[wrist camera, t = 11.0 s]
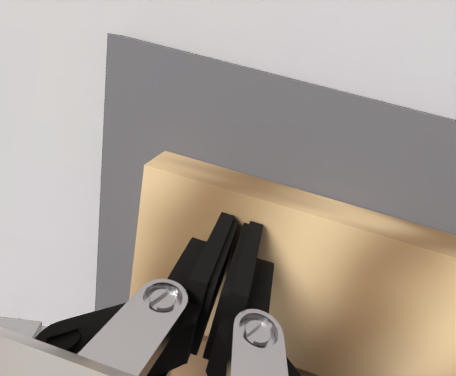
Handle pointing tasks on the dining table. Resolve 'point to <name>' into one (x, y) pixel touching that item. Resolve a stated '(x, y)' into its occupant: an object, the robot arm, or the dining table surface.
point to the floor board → (258, 147)
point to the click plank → (314, 268)
